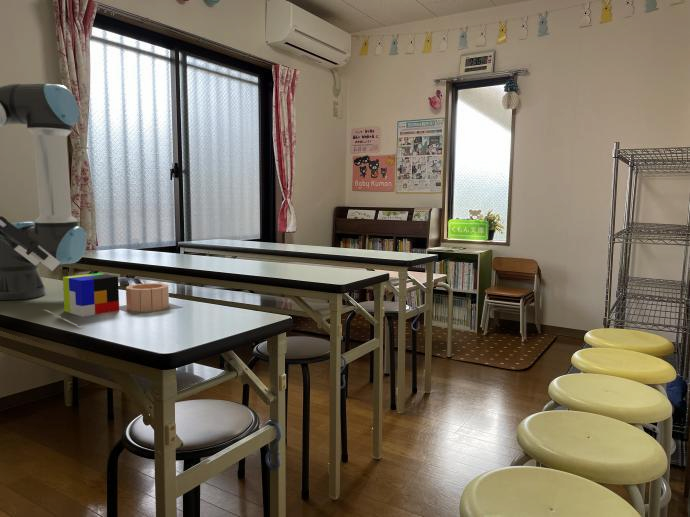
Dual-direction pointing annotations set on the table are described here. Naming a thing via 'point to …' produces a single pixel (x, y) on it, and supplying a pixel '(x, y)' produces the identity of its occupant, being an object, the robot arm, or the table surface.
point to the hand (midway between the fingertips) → (47, 264)
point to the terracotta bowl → (147, 297)
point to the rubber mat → (124, 308)
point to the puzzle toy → (91, 294)
